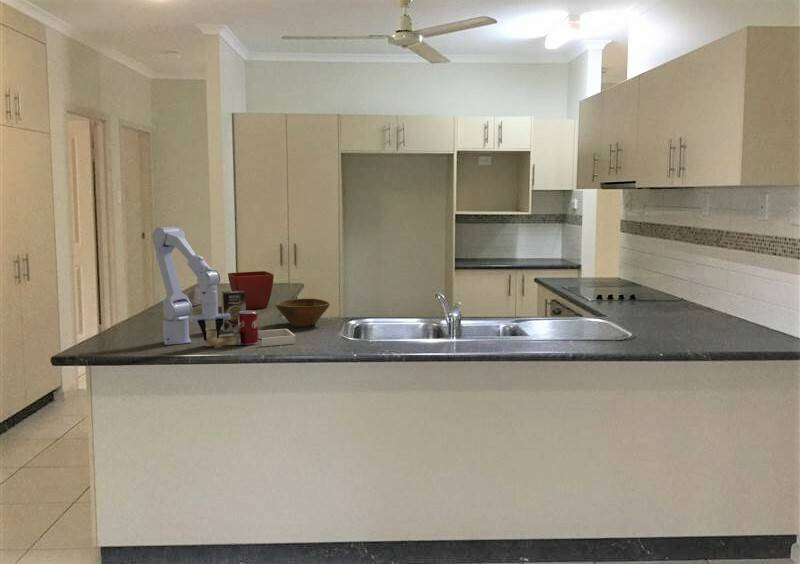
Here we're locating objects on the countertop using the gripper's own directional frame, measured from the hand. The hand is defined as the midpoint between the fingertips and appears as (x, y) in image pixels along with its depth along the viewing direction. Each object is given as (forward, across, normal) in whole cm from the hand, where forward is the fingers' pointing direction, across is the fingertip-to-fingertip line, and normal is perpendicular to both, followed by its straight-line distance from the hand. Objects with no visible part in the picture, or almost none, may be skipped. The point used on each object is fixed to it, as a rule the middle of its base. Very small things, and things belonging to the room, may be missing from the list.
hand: (211, 339), depth 252 cm
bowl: (+3, +42, +27) cm, 50 cm away
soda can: (+3, +14, 0) cm, 14 cm away
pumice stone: (+3, +4, +102) cm, 102 cm away
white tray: (+3, +24, 0) cm, 24 cm away
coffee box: (+3, +13, +28) cm, 31 cm away
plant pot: (+3, +30, +83) cm, 88 cm away
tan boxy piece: (+2, +4, 0) cm, 4 cm away
